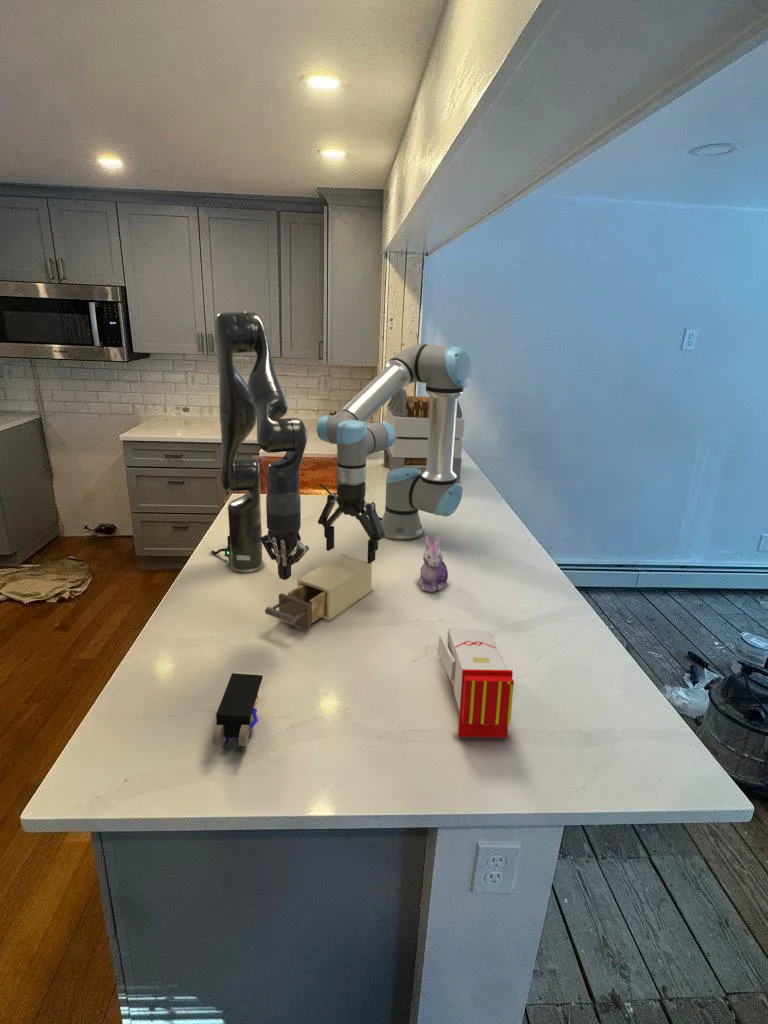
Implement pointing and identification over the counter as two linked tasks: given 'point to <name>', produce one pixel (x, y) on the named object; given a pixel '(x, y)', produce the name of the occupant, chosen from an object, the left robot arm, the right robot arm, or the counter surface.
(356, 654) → the counter surface
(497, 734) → the toy
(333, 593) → the cabinet
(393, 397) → the grey slatted crate
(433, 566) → the figurine
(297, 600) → the drawer
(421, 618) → the counter surface
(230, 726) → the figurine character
